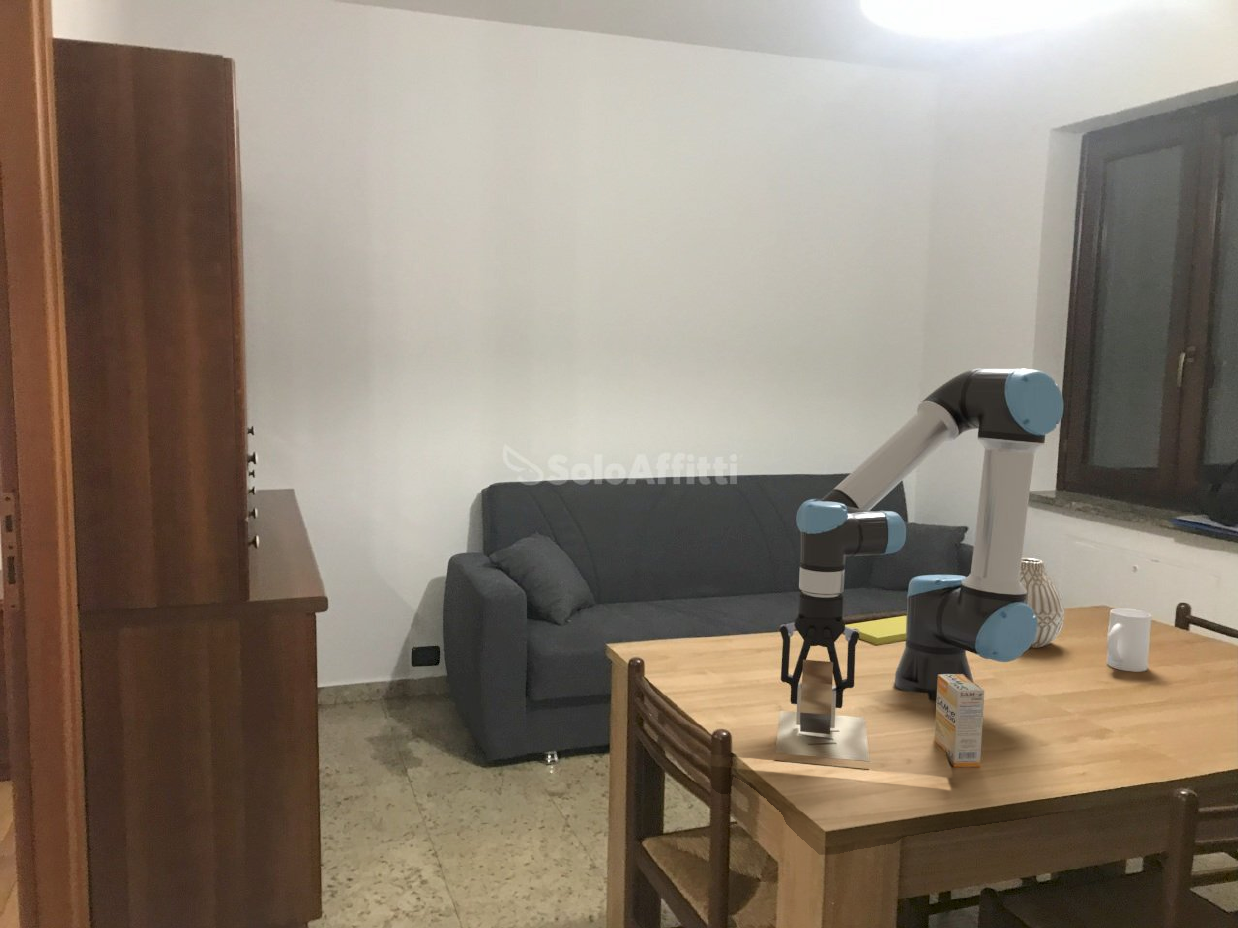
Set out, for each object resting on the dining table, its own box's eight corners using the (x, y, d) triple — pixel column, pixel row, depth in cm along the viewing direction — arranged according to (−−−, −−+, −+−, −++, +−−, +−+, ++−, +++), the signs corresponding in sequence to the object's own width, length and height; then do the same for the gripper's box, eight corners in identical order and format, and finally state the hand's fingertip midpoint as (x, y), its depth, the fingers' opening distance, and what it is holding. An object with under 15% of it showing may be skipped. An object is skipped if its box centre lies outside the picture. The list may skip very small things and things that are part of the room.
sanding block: (829, 734, 167) (832, 677, 172) (830, 719, 160) (833, 661, 165) (800, 731, 168) (803, 675, 173) (800, 716, 161) (803, 659, 166)
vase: (1074, 653, 224) (1079, 567, 221) (1004, 652, 224) (1009, 566, 222) (1045, 634, 239) (1050, 553, 237) (979, 632, 240) (984, 552, 238)
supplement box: (932, 748, 167) (936, 673, 165) (959, 747, 167) (963, 673, 166) (952, 767, 158) (956, 689, 157) (981, 767, 159) (985, 689, 157)
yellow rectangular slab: (877, 646, 228) (949, 634, 240) (877, 637, 228) (949, 625, 240) (841, 634, 239) (912, 622, 250) (841, 625, 238) (912, 614, 250)
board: (864, 725, 176) (864, 717, 176) (868, 770, 157) (869, 760, 157) (780, 718, 179) (780, 709, 179) (774, 760, 160) (775, 751, 160)
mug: (1088, 667, 213) (1092, 613, 212) (1117, 658, 220) (1120, 606, 219) (1126, 677, 207) (1130, 621, 205) (1154, 667, 214) (1158, 614, 212)
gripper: (874, 590, 169) (868, 720, 171) (769, 583, 173) (764, 711, 175) (876, 600, 162) (869, 736, 164) (766, 593, 166) (761, 725, 168)
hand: (815, 723), depth 170 cm, fingers closed on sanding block, 5 cm apart
